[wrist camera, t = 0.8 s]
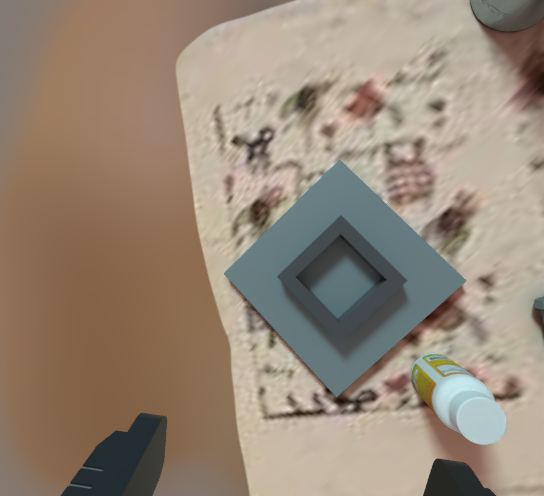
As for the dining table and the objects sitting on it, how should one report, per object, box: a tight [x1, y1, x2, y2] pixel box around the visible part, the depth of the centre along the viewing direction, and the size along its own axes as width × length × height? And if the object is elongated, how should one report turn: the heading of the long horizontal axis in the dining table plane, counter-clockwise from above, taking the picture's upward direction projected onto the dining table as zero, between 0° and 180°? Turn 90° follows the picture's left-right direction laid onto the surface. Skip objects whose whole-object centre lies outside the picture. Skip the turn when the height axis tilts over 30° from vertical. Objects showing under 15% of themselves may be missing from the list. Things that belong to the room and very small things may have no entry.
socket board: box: [224, 160, 466, 397], centre depth 34 cm, size 20×20×4 cm
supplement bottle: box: [411, 353, 507, 445], centre depth 29 cm, size 5×5×10 cm
